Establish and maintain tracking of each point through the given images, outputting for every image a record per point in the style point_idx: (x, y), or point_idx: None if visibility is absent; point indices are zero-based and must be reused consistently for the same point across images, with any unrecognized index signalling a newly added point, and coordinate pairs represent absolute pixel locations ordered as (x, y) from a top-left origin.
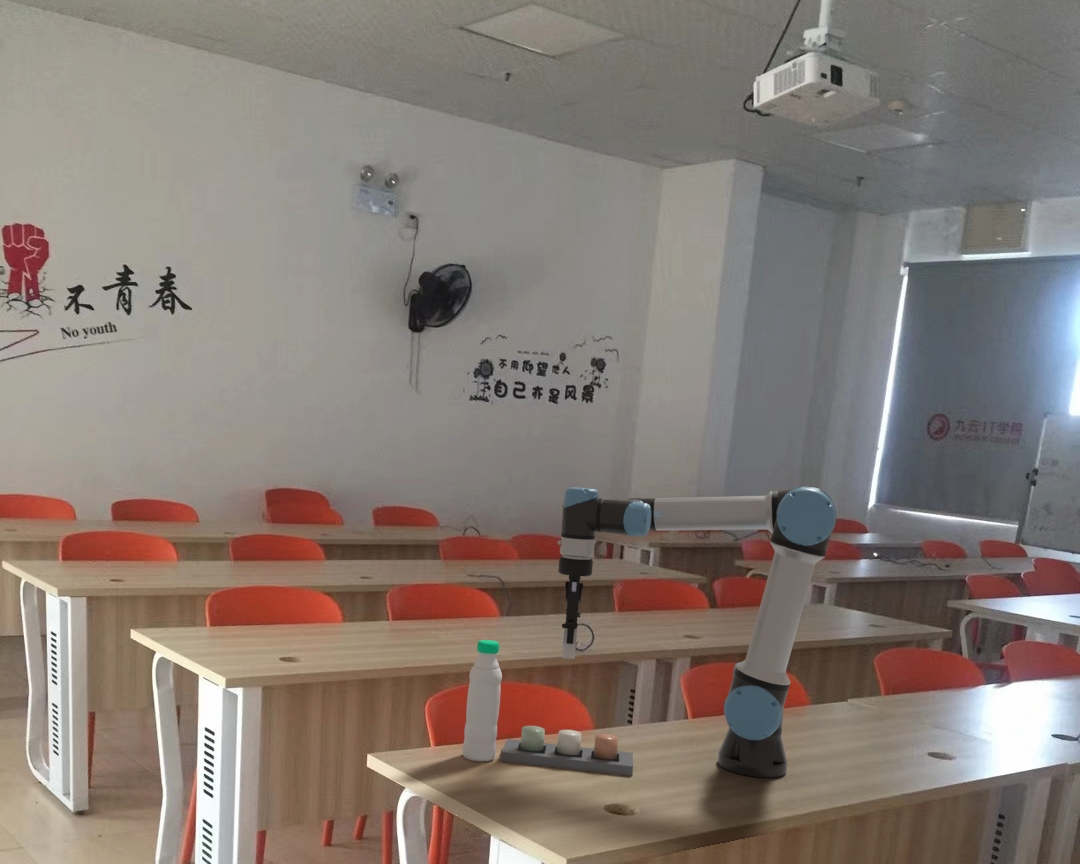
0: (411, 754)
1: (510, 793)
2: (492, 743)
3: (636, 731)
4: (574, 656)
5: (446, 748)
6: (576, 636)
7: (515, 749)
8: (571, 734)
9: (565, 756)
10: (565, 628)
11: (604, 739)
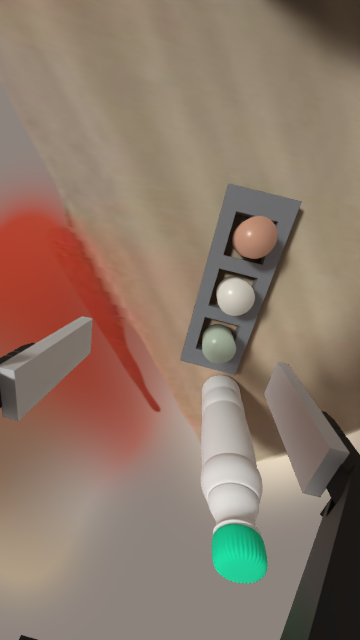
0: None
1: (346, 377)
2: (236, 391)
3: (58, 134)
4: (291, 370)
5: (191, 413)
6: (326, 420)
7: None
8: (243, 297)
9: None
10: (320, 491)
11: (271, 246)
